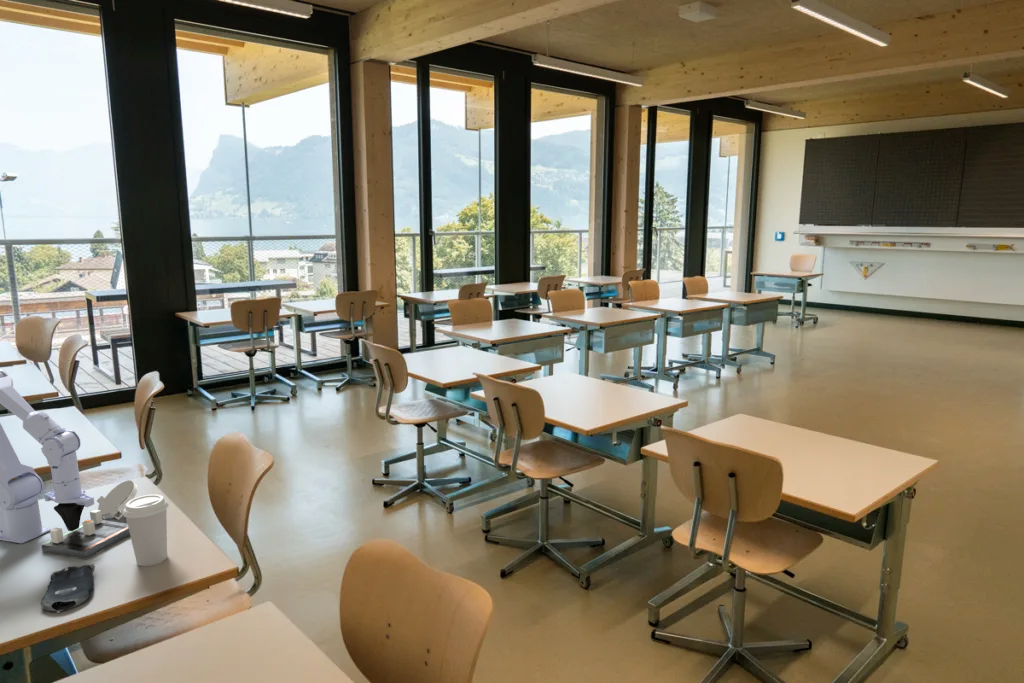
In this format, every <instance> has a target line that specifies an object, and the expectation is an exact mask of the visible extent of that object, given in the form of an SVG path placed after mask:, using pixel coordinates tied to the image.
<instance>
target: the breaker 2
mask: <svg viewBox="0 0 1024 683" xmlns="http://www.w3.org/2000/svg"><path fill="white" fill-rule="evenodd" d="M89 516H90V520H92V521H94V524H99V523H101V522H102V520H103V517H102V515H101V510H98V509H93V510H91V511H89Z"/></svg>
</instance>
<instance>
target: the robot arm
mask: <svg viewBox="0 0 1024 683" xmlns="http://www.w3.org/2000/svg"><path fill="white" fill-rule="evenodd" d="M0 405H1V406H2V407H4V408H5V409H6V410H8V411H9V412H11V413H12V414H13V415H15V416H16V417H17V418H18V419H20V420H21V421H22V428H23V430H24V431H25V432H26V433H28V434H29V435H30V436H31V437H32V438H33V439H34V440H35V441H37V442H38V443H39V444H40V445H41V446H42V447H41V448H40V449H41V453H42V455H43V456H44V457H45V459H46V460H47V464H48V466H50V472H51V477H52V478H51V479H52V486H53V491H49V492H46V493H44V494H43V496H44V501H45V502H50V501H51V502H54V503H56V504H57V505H54V506H53V510H54V511H55V512H56V513H57V514H58V515H59V516H60V518H61V519H62V521H63V523H64V525H65V528H66V530H67V532H69V531H74V530H76V529H78V528H79V526H80V523H81V517H82V513H83V511H84V509H85V508H89V507H92V506H93V505H95V498H94V496H90V495H88V494H86V490H85V489H82V485H81V484H82V483H81V479H80V478H81V477H80V471H79V464H78V456H77V451H78V450H79V449H80V448H81V439H80V436H79V435H78V434H77V433H76V431H74V430H72V429H67V428H65V427H61V426H60V425H59V424H58V423H57V422H56V421H54V420H53V419H52V418H51V416H49V415H48V413H45V412H44V411H36V410H35V409H34V408H33V407H32V405H30V404H29V403H28V401H26V399H24V397H23V396H22V394H20V393H19V392H18V390H16V388H14V381H13V378H11V377H10V376H9V375H8V374H7V372H5V371H4V370H3V369H0ZM14 478H15V479H14ZM44 488H45V484H44V481H43V478H41V476H39V475H38V474H37V472H36V471H35V470H34V468H33V467H32V466H29V465H26V464H23V463H21V461H20V459H19V457H18V456H17V453H16V451H15V450H14V448H13V445H12V444H11V442H10V439H9V437H8V436H7V433H6V432H5V430H4V427H3V425H2V424H1V422H0V541H4V542H10V543H17V544H24V543H26V542H28V541H30V540H34V539H35V538H38V537H40V536H42V535H44V534H46V533H49V532H50V530H52V528H49V527H43V525H42V524H43V523H42V519H41V517H42V516H41V513H40V505H39V499H41V494H42V493H43V491H44Z"/></svg>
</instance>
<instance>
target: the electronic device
mask: <svg viewBox="0 0 1024 683" xmlns="http://www.w3.org/2000/svg"><path fill="white" fill-rule="evenodd" d="M95 568H96V566H95V564H94V563H88V564H84V565H80V566H77V565H73V566H70V565H69V566H67V569H66V568H61V569H60V570H57V571H53V572H51V574H50V576H49V577H50V578H49V579H50V581H49V583H48V586H47V589H46V592H45V594H44V595H43V597H42V598H41V600H40V605H41V607H42V608H43V609H44V610H46V611H48V612H56V613H57V614H59V613H60V612H62V611H63V609H54V607H52V606H53V604H55V603H56V606H58V607H66V606H69V605H72V604H75V605H73V606H71V607H68V608H66V609H64V611H66V610H70V609H72V608H75V607H77V606H79V605H81V604H84V603H85V602H86V601H87V600H88V599H90V596H91V594H92V593H93V590H94V586H95V585H94V584H95V581H94V573H95V572H94V571H95ZM61 602H62V603H61Z"/></svg>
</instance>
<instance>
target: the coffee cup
mask: <svg viewBox="0 0 1024 683" xmlns="http://www.w3.org/2000/svg"><path fill="white" fill-rule="evenodd" d="M168 507H169V503H168V501H167V499H165V498H164V496H163V495H161V494H157V493H155V494H144V495H140V496H137V497H136V496H135V497H134V498H133V499H132V500H130V501H128V502H127V503H126V506H125V508H124V509H123V510H122V513H123V516H122V517H125V520H126V524H128V528H129V532H130V536H129V537H130V540H131V544H132V548H133V552H134V556H135V562H136V565H138V566H140V567H150V566H155V565H159V564H160V563H162V562H164V561H165V560H166V559H167V558H168V537H167V534H168V531H167V528H168V527H167V524H168V522H167V521H168V520H167V509H168Z"/></svg>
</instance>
